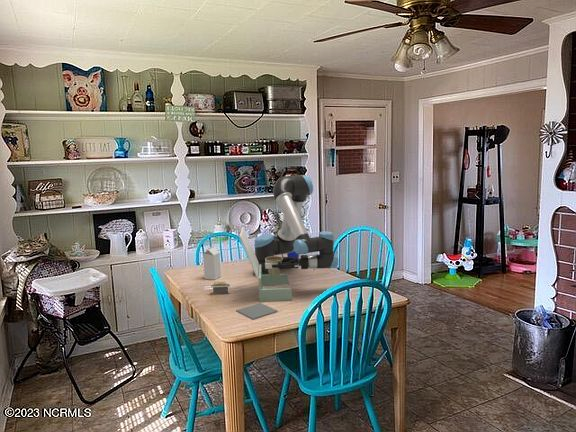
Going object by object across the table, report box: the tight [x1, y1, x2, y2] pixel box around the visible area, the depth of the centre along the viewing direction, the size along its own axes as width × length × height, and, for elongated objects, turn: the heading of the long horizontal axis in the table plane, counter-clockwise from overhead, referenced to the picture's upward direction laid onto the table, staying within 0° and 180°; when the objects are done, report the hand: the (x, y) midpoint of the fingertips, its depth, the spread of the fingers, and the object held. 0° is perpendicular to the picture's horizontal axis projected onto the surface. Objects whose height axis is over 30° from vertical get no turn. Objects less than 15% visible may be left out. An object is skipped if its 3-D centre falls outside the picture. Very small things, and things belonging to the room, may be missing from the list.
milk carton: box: [202, 245, 222, 281], centre depth 262 cm, size 7×7×19 cm
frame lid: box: [239, 226, 259, 278], centre depth 230 cm, size 22×26×1 cm
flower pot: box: [265, 255, 283, 276], centre depth 232 cm, size 9×9×9 cm
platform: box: [210, 280, 231, 295], centre depth 235 cm, size 12×18×7 cm, turn 93°
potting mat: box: [235, 302, 279, 320], centre depth 208 cm, size 14×14×1 cm
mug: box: [281, 251, 300, 259], centre depth 294 cm, size 8×12×10 cm
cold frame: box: [257, 264, 293, 303], centre depth 233 cm, size 16×26×12 cm, turn 3°
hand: (265, 263), depth 231 cm, fingers closed on flower pot, 8 cm apart
